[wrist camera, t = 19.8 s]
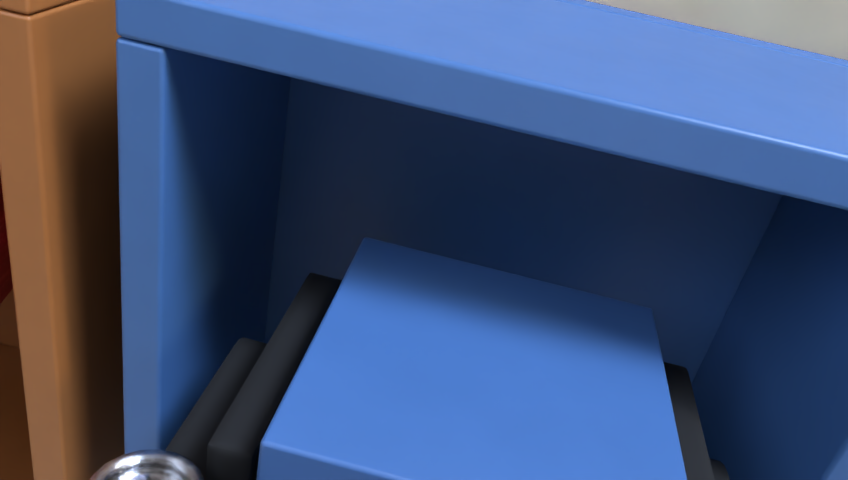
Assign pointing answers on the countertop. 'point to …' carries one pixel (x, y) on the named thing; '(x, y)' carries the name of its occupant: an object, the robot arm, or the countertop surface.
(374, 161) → the blue bin
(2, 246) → the onion
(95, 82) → the brown bin
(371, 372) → the blue block
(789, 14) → the countertop surface
